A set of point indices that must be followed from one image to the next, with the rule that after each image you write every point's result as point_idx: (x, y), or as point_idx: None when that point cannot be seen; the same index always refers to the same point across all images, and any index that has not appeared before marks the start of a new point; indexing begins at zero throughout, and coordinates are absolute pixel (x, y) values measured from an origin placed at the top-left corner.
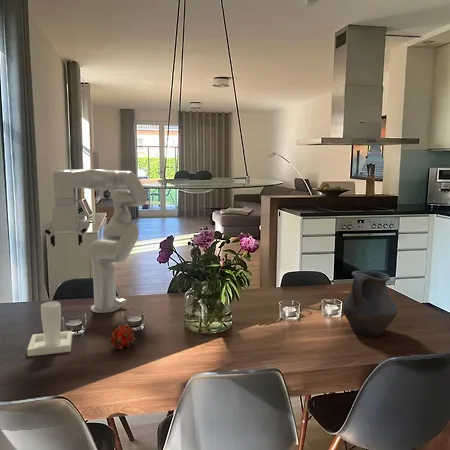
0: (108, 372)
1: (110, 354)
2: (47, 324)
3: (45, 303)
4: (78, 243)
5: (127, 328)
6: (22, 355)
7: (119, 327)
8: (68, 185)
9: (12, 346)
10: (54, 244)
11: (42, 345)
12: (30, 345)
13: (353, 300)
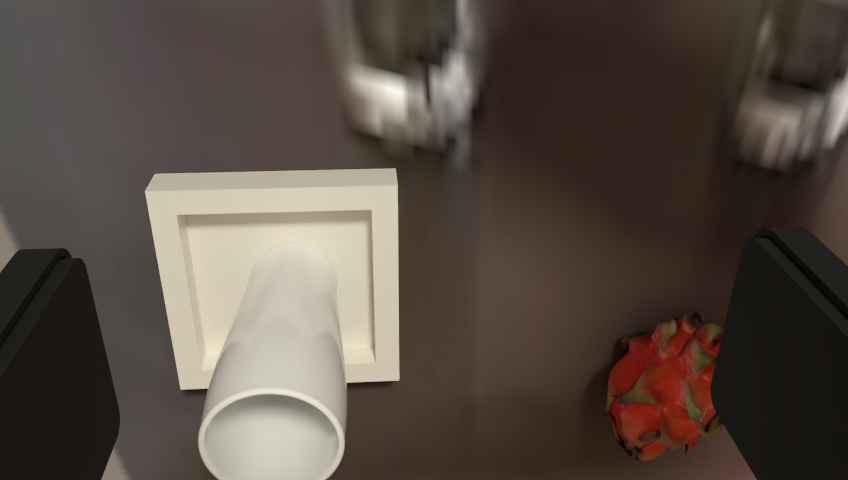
0: None
1: (582, 417)
2: (267, 406)
3: (223, 406)
4: (726, 425)
5: (717, 430)
6: (157, 351)
7: (680, 406)
8: None
9: (54, 230)
10: (107, 456)
11: (238, 281)
12: (182, 344)
13: None
